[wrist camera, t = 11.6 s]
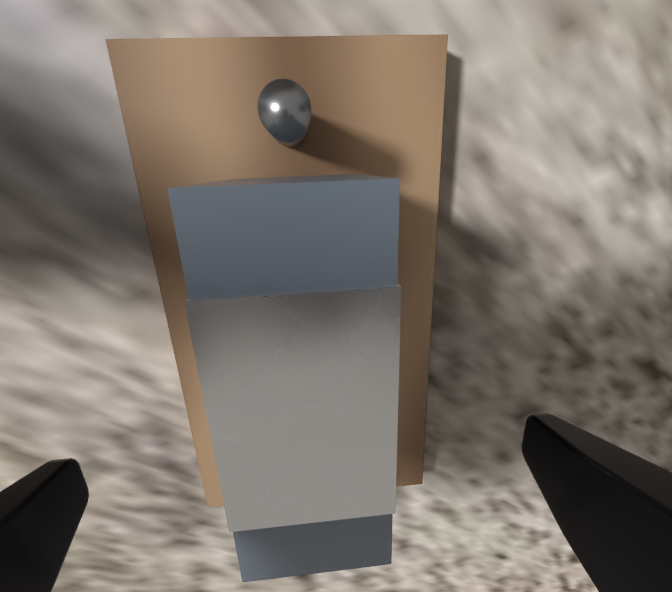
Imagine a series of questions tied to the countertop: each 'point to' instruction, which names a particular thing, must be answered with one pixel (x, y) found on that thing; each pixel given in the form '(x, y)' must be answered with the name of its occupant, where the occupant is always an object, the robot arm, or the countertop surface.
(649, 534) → the robot arm
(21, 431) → the countertop surface
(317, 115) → the wooden pegged board
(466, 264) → the countertop surface
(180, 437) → the countertop surface
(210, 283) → the grey rectangular block
